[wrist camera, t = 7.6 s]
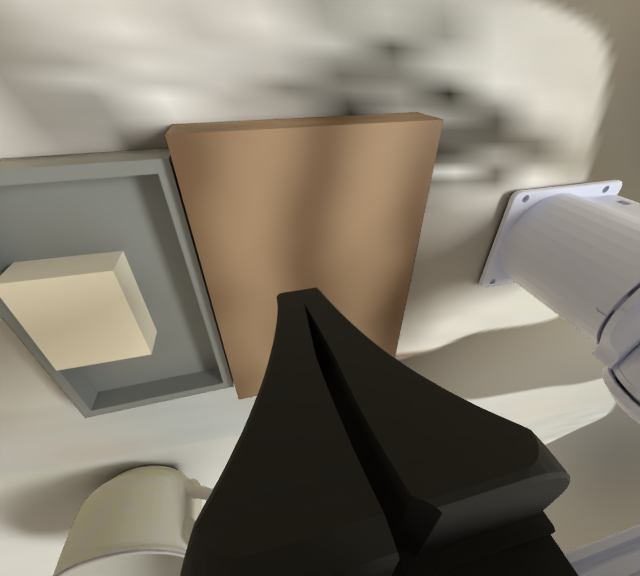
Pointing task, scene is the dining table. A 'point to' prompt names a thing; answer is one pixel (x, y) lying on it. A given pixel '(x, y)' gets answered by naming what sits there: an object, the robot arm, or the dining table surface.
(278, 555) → the robot arm
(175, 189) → the tray
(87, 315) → the tile
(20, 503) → the dining table surface
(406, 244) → the board
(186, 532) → the teacup
